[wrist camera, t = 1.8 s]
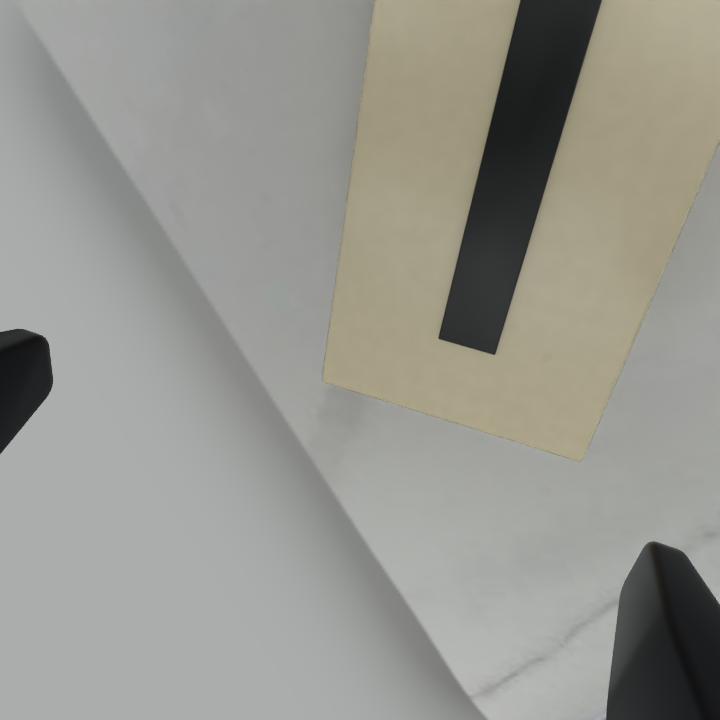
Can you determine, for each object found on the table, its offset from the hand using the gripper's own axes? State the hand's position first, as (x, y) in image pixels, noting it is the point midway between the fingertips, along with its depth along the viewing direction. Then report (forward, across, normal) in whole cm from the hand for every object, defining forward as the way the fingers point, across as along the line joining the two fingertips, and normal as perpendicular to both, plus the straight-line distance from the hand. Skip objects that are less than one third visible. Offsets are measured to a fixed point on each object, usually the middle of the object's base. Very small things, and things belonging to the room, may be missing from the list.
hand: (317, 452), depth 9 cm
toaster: (+12, -1, -3) cm, 13 cm away
